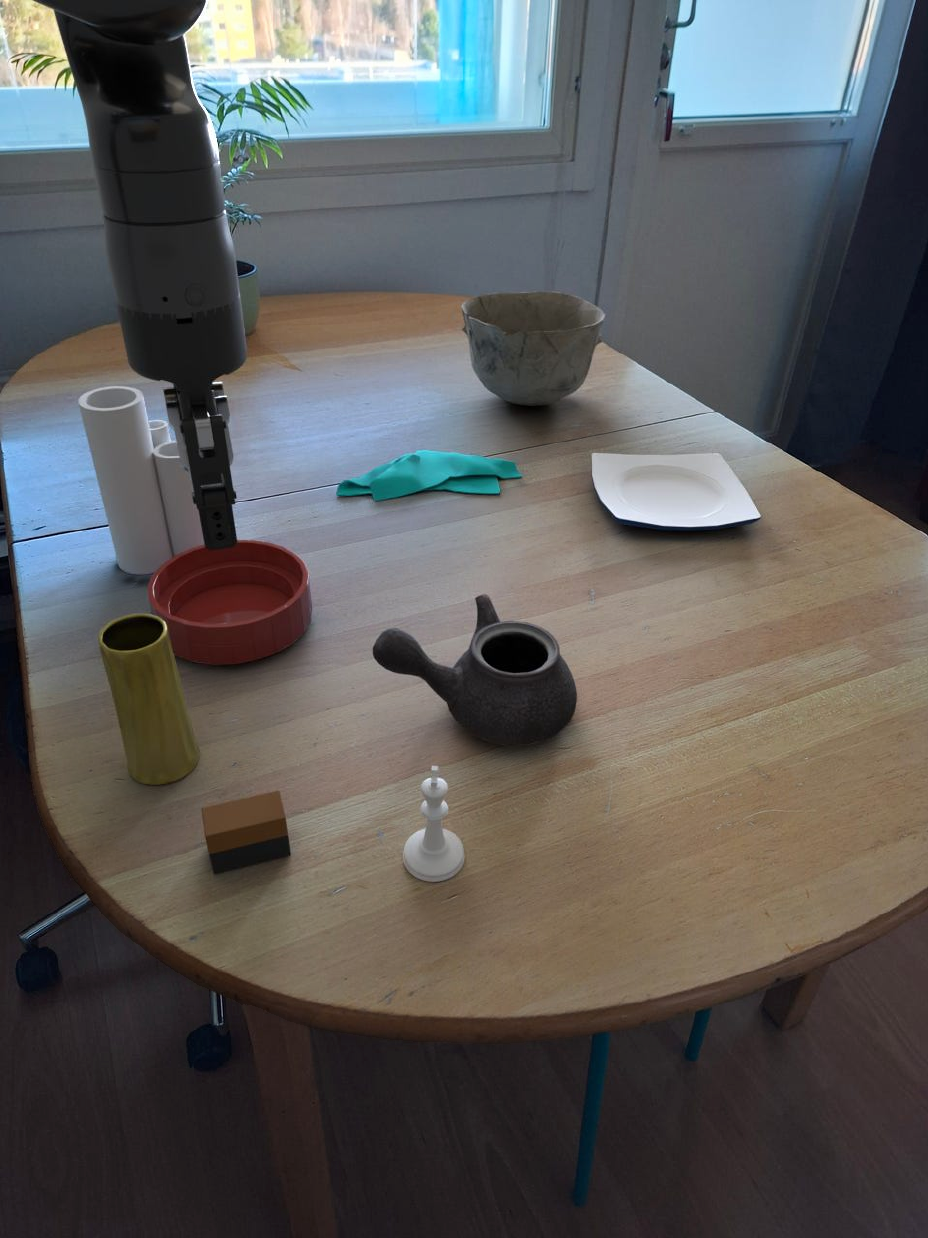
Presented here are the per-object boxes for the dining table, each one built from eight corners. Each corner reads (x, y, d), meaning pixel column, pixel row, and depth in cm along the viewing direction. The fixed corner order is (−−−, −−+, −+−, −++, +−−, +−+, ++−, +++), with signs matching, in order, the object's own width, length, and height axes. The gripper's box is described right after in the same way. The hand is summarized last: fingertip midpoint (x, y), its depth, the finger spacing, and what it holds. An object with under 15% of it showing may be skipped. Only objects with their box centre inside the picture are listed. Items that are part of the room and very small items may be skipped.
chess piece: (465, 833, 72) (469, 745, 66) (463, 883, 68) (467, 795, 62) (405, 831, 72) (403, 743, 66) (400, 881, 68) (397, 792, 62)
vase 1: (120, 579, 100) (79, 414, 88) (115, 548, 105) (76, 388, 93) (221, 561, 103) (194, 400, 91) (211, 531, 109) (185, 376, 97)
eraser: (213, 875, 68) (205, 836, 65) (209, 845, 70) (201, 807, 67) (291, 855, 69) (285, 817, 67) (284, 827, 72) (279, 789, 69)
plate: (766, 539, 111) (771, 521, 109) (607, 540, 110) (610, 522, 108) (720, 466, 127) (723, 449, 126) (581, 466, 126) (583, 449, 124)
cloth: (511, 451, 129) (512, 436, 128) (529, 495, 119) (530, 480, 117) (335, 457, 126) (334, 442, 125) (336, 503, 115) (335, 487, 114)
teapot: (534, 641, 93) (541, 561, 87) (596, 739, 81) (609, 655, 75) (359, 673, 88) (354, 591, 82) (399, 783, 76) (396, 696, 70)
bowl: (442, 383, 150) (443, 294, 141) (554, 368, 157) (562, 282, 149) (496, 434, 134) (501, 337, 125) (618, 415, 141) (631, 321, 132)
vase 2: (116, 757, 77) (78, 629, 69) (180, 727, 81) (151, 600, 72) (147, 797, 74) (111, 667, 65) (212, 763, 77) (187, 635, 69)
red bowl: (162, 684, 85) (151, 639, 82) (153, 593, 98) (143, 552, 94) (326, 653, 90) (322, 610, 87) (297, 571, 102) (293, 530, 99)
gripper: (112, 264, 59) (155, 480, 68) (117, 331, 48) (168, 577, 58) (225, 257, 61) (252, 468, 70) (255, 320, 50) (282, 559, 60)
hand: (214, 517), depth 64 cm, fingers open, 8 cm apart
